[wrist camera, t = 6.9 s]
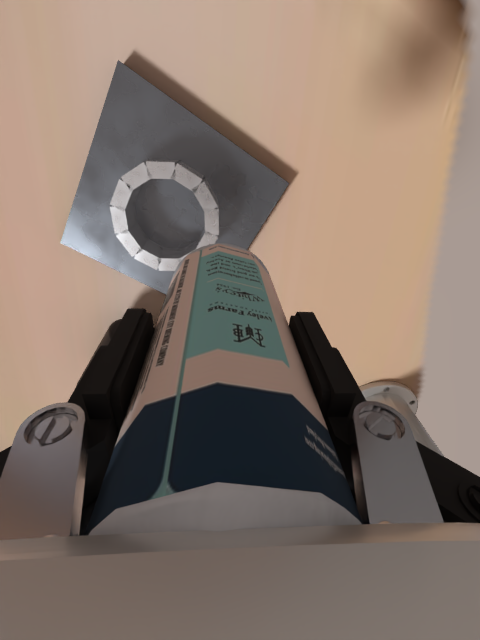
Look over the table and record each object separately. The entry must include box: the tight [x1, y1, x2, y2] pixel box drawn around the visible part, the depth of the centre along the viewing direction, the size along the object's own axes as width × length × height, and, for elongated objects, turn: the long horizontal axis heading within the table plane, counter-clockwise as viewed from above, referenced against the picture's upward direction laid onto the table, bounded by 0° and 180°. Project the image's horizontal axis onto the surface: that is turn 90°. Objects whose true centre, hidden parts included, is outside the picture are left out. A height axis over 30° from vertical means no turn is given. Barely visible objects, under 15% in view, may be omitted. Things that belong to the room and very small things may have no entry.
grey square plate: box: [61, 60, 289, 295], centre depth 27 cm, size 16×16×4 cm
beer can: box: [85, 244, 364, 536], centre depth 9 cm, size 5×5×12 cm
